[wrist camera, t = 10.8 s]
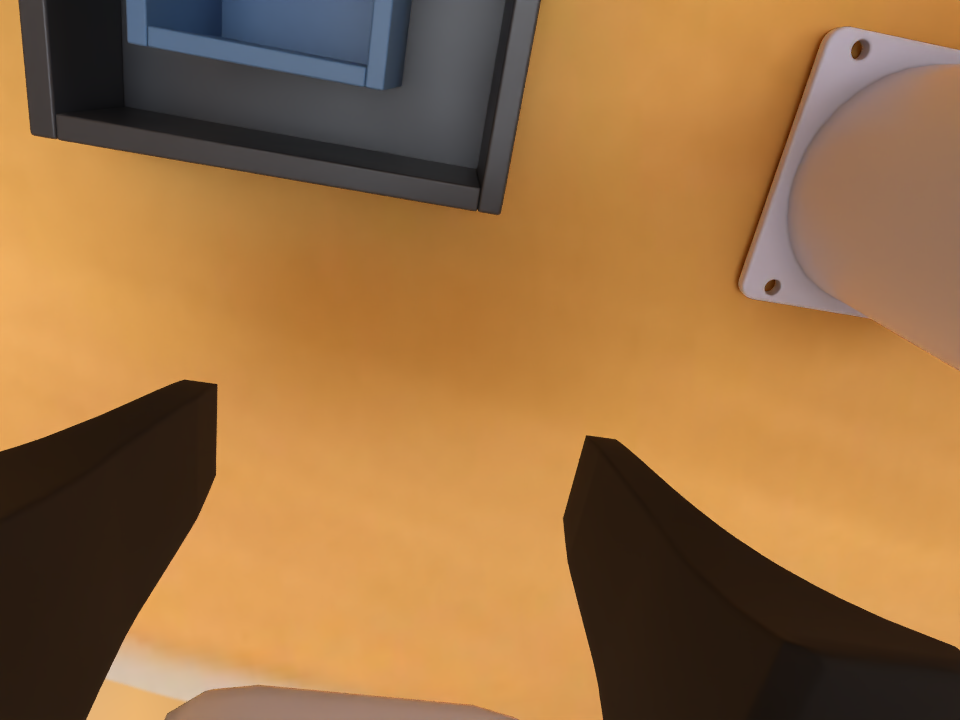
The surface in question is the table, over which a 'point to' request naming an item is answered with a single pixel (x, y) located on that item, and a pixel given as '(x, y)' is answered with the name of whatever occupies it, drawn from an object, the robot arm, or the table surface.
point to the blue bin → (283, 35)
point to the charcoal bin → (295, 102)
